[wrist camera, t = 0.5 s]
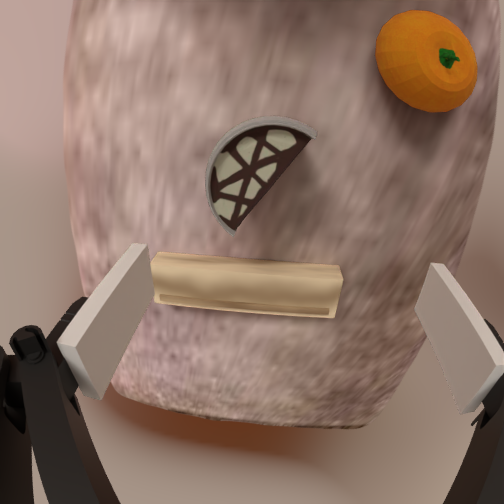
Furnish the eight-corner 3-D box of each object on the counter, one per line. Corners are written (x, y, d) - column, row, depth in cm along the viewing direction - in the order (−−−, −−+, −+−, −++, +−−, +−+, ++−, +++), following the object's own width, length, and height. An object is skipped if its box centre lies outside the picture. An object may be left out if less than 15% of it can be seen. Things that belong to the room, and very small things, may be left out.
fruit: (467, 64, 26) (516, 62, 17) (425, 129, 31) (468, 143, 22) (396, 0, 24) (432, -25, 15) (348, 67, 29) (374, 56, 20)
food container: (263, 90, 31) (259, 86, 22) (308, 124, 32) (320, 134, 24) (199, 174, 36) (174, 201, 27) (241, 205, 37) (229, 241, 29)
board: (158, 251, 41) (148, 265, 38) (338, 265, 40) (344, 281, 37) (162, 288, 44) (153, 304, 41) (330, 302, 43) (334, 320, 39)
